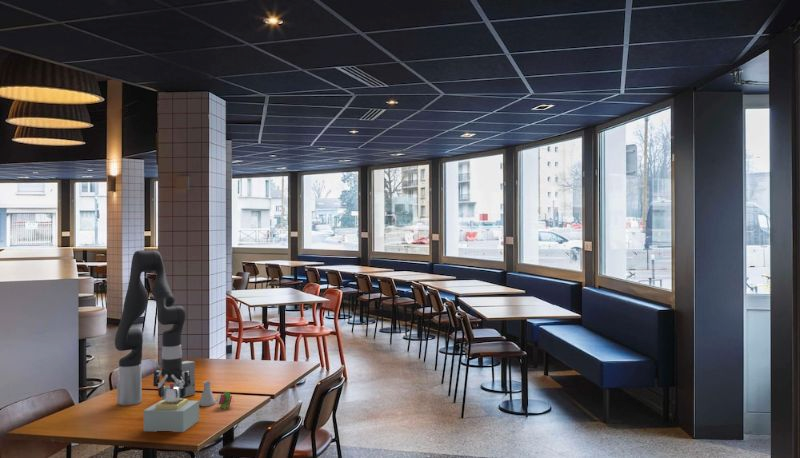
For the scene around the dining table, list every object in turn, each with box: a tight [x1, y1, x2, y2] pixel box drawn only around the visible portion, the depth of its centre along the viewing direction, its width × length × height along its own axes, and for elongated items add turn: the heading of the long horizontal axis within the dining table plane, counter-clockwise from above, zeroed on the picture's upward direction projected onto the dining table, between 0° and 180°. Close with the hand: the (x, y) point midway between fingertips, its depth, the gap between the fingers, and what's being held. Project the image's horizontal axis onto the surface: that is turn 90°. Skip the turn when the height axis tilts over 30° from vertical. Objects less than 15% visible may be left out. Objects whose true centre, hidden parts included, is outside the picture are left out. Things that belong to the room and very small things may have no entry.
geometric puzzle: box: [215, 391, 234, 409], centre depth 255 cm, size 7×7×8 cm
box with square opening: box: [143, 398, 200, 433], centre depth 231 cm, size 16×14×10 cm
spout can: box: [165, 382, 179, 405], centre depth 231 cm, size 5×5×10 cm
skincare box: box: [174, 360, 196, 398], centre depth 274 cm, size 8×7×16 cm
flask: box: [199, 380, 217, 407], centre depth 259 cm, size 7×7×10 cm
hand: (172, 397), depth 231 cm, fingers open, 8 cm apart
